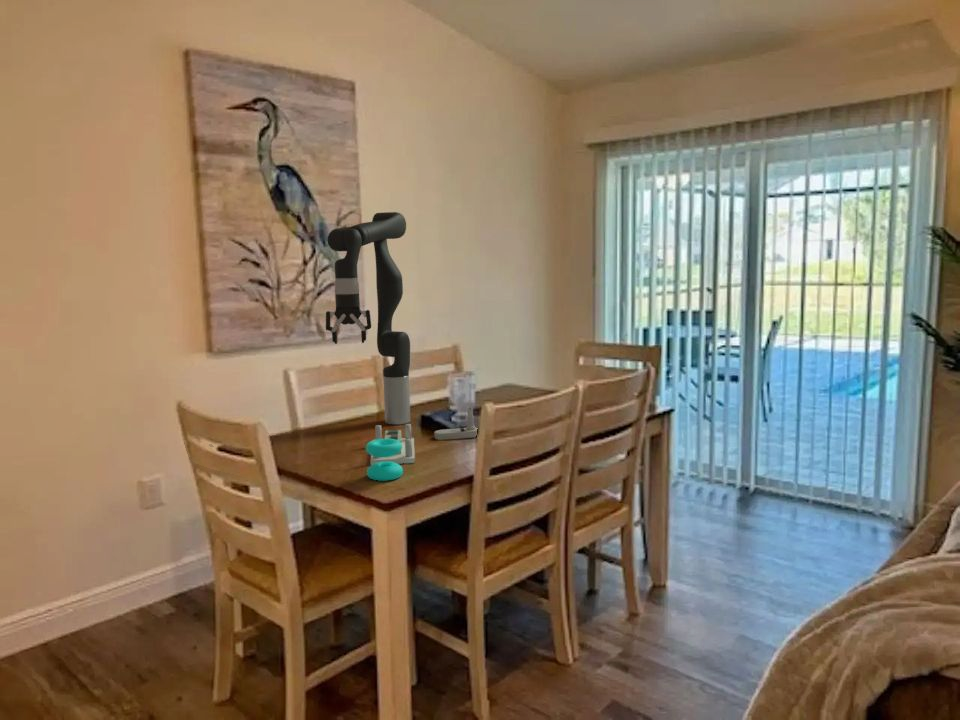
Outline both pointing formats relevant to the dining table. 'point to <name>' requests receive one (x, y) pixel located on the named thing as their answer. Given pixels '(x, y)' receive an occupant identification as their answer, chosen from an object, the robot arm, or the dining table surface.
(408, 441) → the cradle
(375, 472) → the donuts
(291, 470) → the dining table surface
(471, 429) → the electronic device
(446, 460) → the dining table surface
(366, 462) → the dining table surface
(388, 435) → the pale green block
